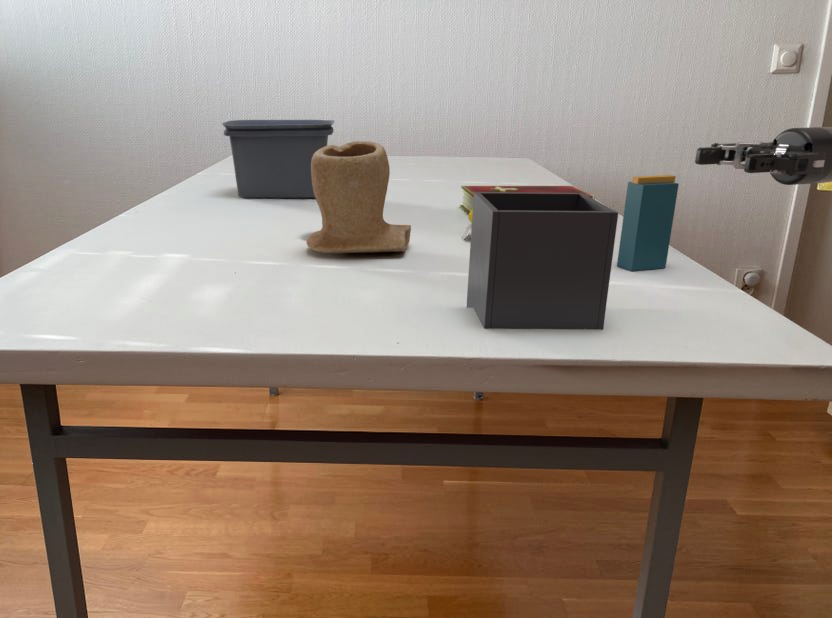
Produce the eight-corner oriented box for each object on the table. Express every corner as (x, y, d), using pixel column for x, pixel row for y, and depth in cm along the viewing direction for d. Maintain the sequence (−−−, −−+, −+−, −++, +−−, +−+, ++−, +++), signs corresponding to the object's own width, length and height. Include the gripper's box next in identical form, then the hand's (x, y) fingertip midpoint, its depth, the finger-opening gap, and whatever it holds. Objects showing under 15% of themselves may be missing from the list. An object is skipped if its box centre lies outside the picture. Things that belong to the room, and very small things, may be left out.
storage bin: (222, 200, 149) (218, 122, 144) (234, 188, 164) (231, 117, 159) (333, 201, 149) (333, 124, 144) (335, 189, 164) (335, 118, 159)
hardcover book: (592, 218, 135) (595, 194, 134) (473, 219, 134) (475, 194, 132) (570, 206, 146) (572, 184, 145) (460, 207, 145) (461, 184, 143)
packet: (651, 262, 105) (664, 173, 101) (666, 268, 102) (681, 176, 98) (615, 266, 103) (627, 175, 99) (630, 271, 100) (643, 178, 96)
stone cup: (305, 263, 103) (304, 146, 98) (306, 243, 114) (305, 137, 109) (419, 262, 104) (424, 146, 98) (409, 243, 115) (413, 138, 109)
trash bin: (569, 310, 84) (583, 192, 79) (601, 345, 73) (618, 212, 69) (466, 310, 84) (473, 191, 79) (483, 344, 73) (492, 211, 69)
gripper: (776, 123, 112) (686, 125, 106) (868, 131, 99) (771, 135, 94) (766, 176, 114) (678, 181, 109) (854, 191, 102) (759, 197, 97)
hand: (721, 160), depth 102 cm, fingers open, 8 cm apart
